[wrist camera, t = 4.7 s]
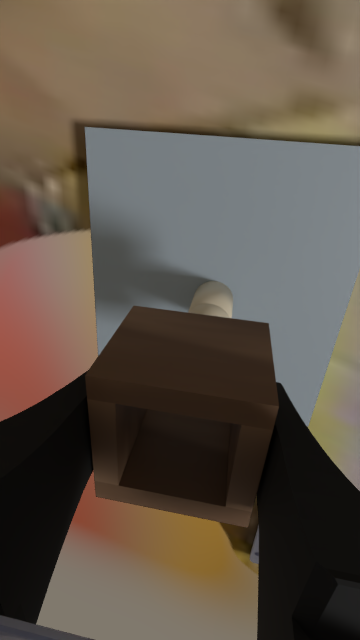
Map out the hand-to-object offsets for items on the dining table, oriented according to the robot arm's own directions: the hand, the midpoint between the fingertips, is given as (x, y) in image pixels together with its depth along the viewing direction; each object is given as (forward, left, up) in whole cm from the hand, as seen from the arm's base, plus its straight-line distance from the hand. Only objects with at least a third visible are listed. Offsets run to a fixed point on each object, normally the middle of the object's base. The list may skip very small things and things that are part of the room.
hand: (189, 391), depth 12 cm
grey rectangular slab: (0, 0, -9) cm, 9 cm away
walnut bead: (0, 0, -1) cm, 1 cm away
